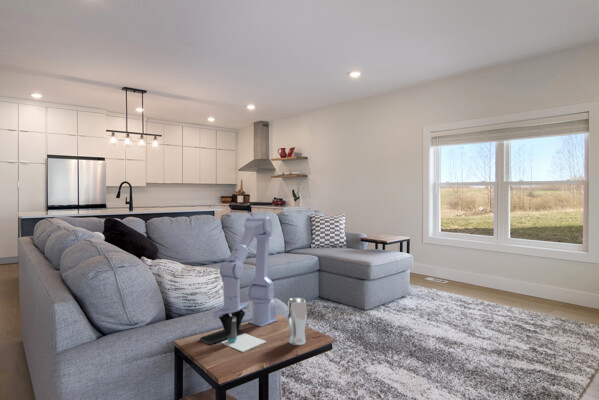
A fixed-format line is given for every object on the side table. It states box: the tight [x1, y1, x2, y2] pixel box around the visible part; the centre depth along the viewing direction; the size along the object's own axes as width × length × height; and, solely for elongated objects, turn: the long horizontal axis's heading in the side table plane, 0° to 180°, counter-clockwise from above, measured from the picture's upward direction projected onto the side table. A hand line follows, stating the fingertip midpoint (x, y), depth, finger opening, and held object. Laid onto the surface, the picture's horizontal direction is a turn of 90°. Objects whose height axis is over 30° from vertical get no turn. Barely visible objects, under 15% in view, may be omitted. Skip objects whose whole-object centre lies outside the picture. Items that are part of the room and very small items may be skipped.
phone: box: [199, 329, 244, 346], centre depth 134 cm, size 8×1×15 cm
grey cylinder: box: [228, 315, 237, 342], centre depth 128 cm, size 3×3×8 cm
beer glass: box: [286, 297, 308, 346], centre depth 128 cm, size 7×7×15 cm
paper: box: [220, 333, 267, 353], centre depth 128 cm, size 11×12×1 cm
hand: (232, 333), depth 128 cm, fingers closed on grey cylinder, 3 cm apart
